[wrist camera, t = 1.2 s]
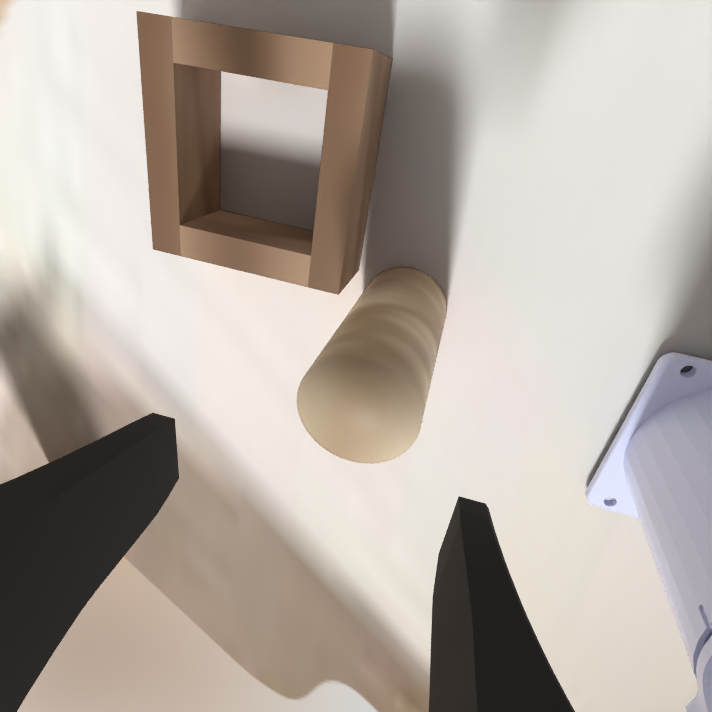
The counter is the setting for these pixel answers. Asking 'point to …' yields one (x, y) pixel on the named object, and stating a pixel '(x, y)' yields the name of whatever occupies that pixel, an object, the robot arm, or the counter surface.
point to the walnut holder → (202, 147)
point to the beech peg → (376, 370)
